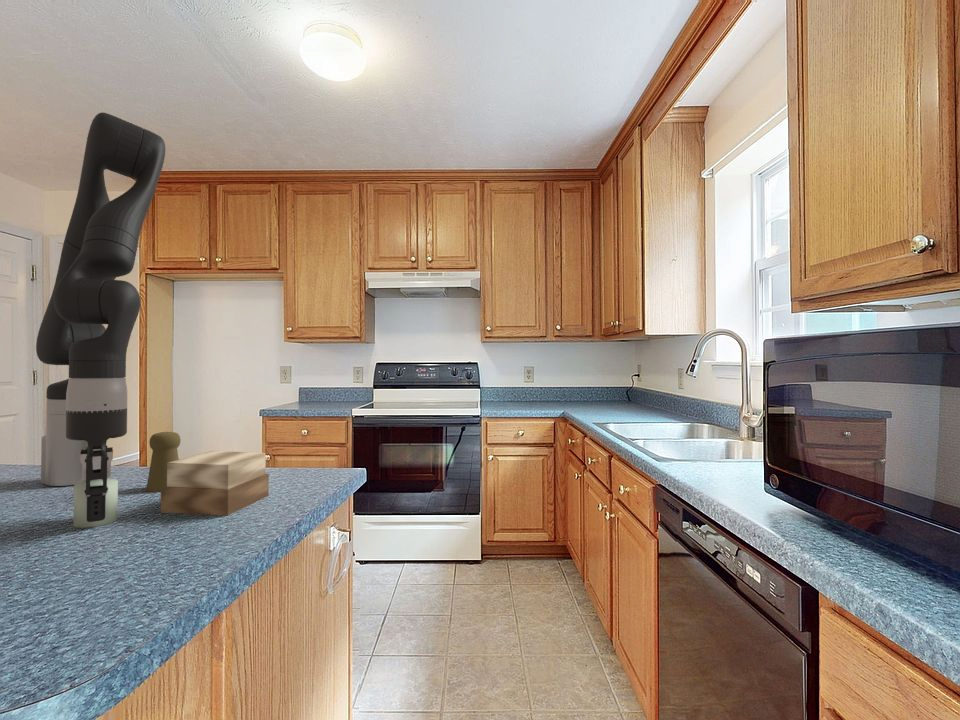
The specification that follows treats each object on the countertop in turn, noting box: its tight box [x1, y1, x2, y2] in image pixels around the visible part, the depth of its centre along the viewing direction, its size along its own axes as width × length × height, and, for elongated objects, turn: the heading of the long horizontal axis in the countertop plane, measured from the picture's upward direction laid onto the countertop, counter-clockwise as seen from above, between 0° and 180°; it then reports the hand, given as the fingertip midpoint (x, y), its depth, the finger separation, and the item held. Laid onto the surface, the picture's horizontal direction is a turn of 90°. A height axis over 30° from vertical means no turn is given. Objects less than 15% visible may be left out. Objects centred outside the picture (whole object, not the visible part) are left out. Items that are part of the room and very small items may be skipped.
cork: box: [145, 431, 181, 493], centre depth 96 cm, size 6×6×11 cm
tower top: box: [167, 450, 267, 489], centre depth 86 cm, size 11×11×4 cm
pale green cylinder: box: [72, 478, 119, 529], centre depth 76 cm, size 5×5×6 cm
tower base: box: [160, 473, 270, 516], centre depth 86 cm, size 12×12×4 cm
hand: (96, 515), depth 76 cm, fingers closed on pale green cylinder, 5 cm apart
